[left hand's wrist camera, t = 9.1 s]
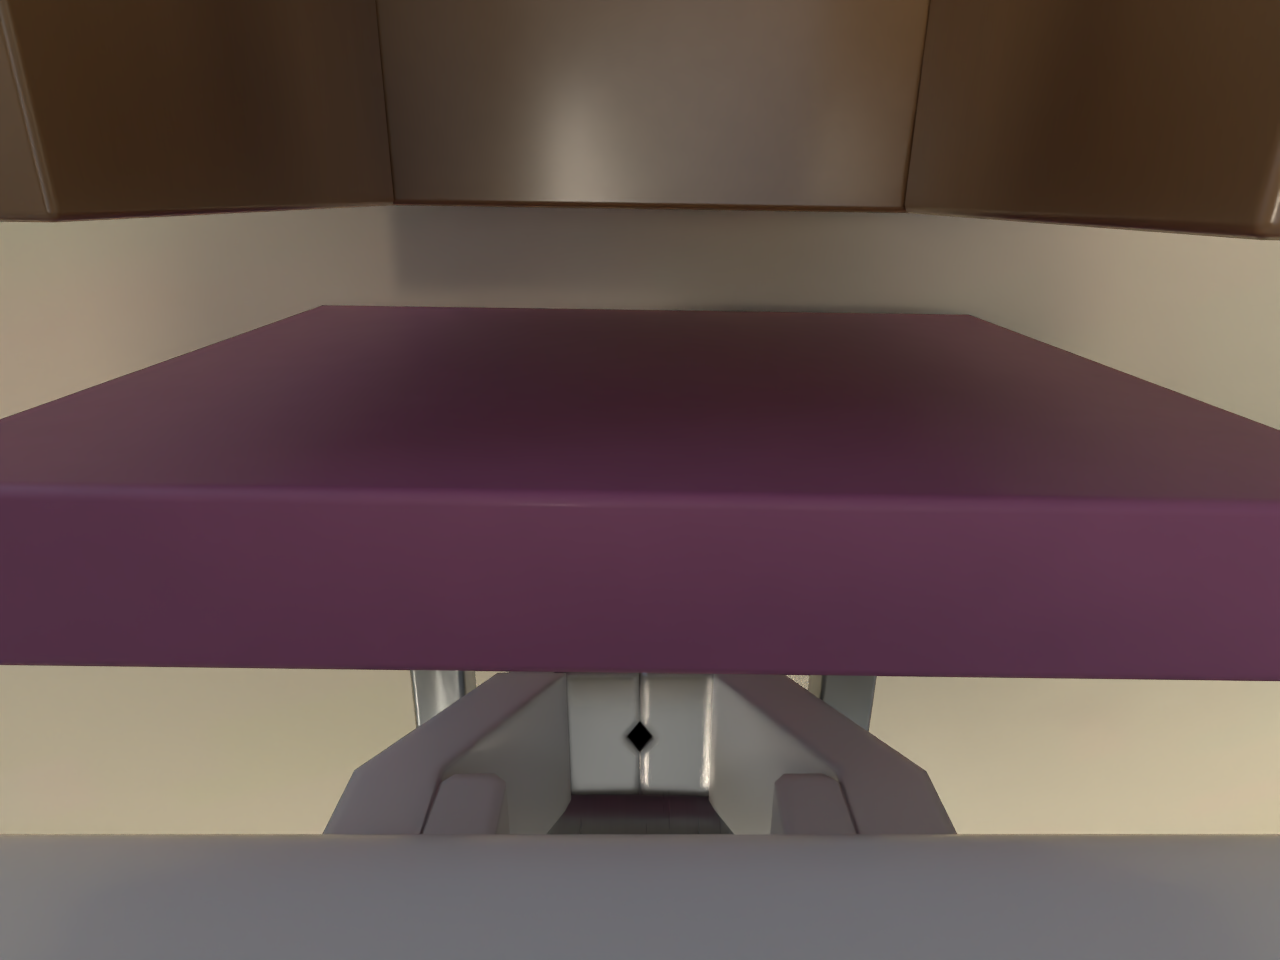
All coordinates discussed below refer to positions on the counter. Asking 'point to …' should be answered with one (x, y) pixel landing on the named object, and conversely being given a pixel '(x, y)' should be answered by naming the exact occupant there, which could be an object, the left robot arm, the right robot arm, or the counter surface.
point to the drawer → (644, 354)
